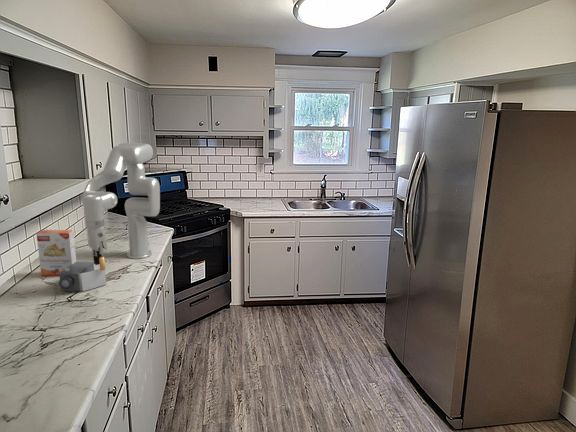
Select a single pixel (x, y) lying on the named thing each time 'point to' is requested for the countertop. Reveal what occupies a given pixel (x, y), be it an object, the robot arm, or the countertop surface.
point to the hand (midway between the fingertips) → (98, 263)
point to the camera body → (74, 275)
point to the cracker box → (55, 251)
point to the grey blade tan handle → (93, 277)
